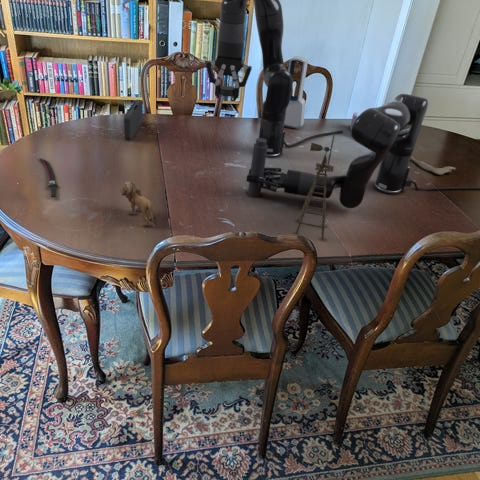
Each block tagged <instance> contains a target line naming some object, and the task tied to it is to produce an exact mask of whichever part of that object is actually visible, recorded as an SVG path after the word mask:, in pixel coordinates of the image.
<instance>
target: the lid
mask: <svg viewBox="0 0 480 480" xmlns="http://www.w3.org/2000/svg"><path fill="white" fill-rule="evenodd" d="M234 88H235V86H231V85H221V87H220V96H222V97H234Z"/></svg>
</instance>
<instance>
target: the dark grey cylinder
mask: <svg viewBox="0 0 480 480" xmlns="http://www.w3.org/2000/svg"><path fill="white" fill-rule="evenodd" d="M266 144H267V140H266V139H263V138H259V137H258V138H256V140H255V143H253V150H252V157H251V165H250V169H251V172H250V175H254V176H259V177H263V174H264V168H266V160H267V157H266V154H267V147H268V146H267V145H266ZM247 188H248V189H247V195H248V196H250V197H252V198H258V197H260V196H261V194H262V188H260V187H259V185H258V183H252V182H248V187H247Z"/></svg>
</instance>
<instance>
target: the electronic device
mask: <svg viewBox="0 0 480 480" xmlns="http://www.w3.org/2000/svg"><path fill="white" fill-rule="evenodd" d="M296 62H297V63H301V68H300V74H299V81H298V87H297V94H296V96H294V95H292V94H291V96H290V101H289V105H288V107H287V109H286V116H285V123H284V128H289V129H294V130H295V129H296V130H300V129H301V128H302V126H303V125H304V124H305V114H306V113H305V112H306V100H305V98H304V97H303V96H304V95H303V94H304V87H305V82H306V75H307V69H308V63H309V59H308V58H307V57H305V56H301V55H296V56H292V57H291V58H290V59H289V62H288V68H287V70H288V71H289V72H290V73H291V75H292V79H293V80H294V73H295V68H296V67H295V66H296Z"/></svg>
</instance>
